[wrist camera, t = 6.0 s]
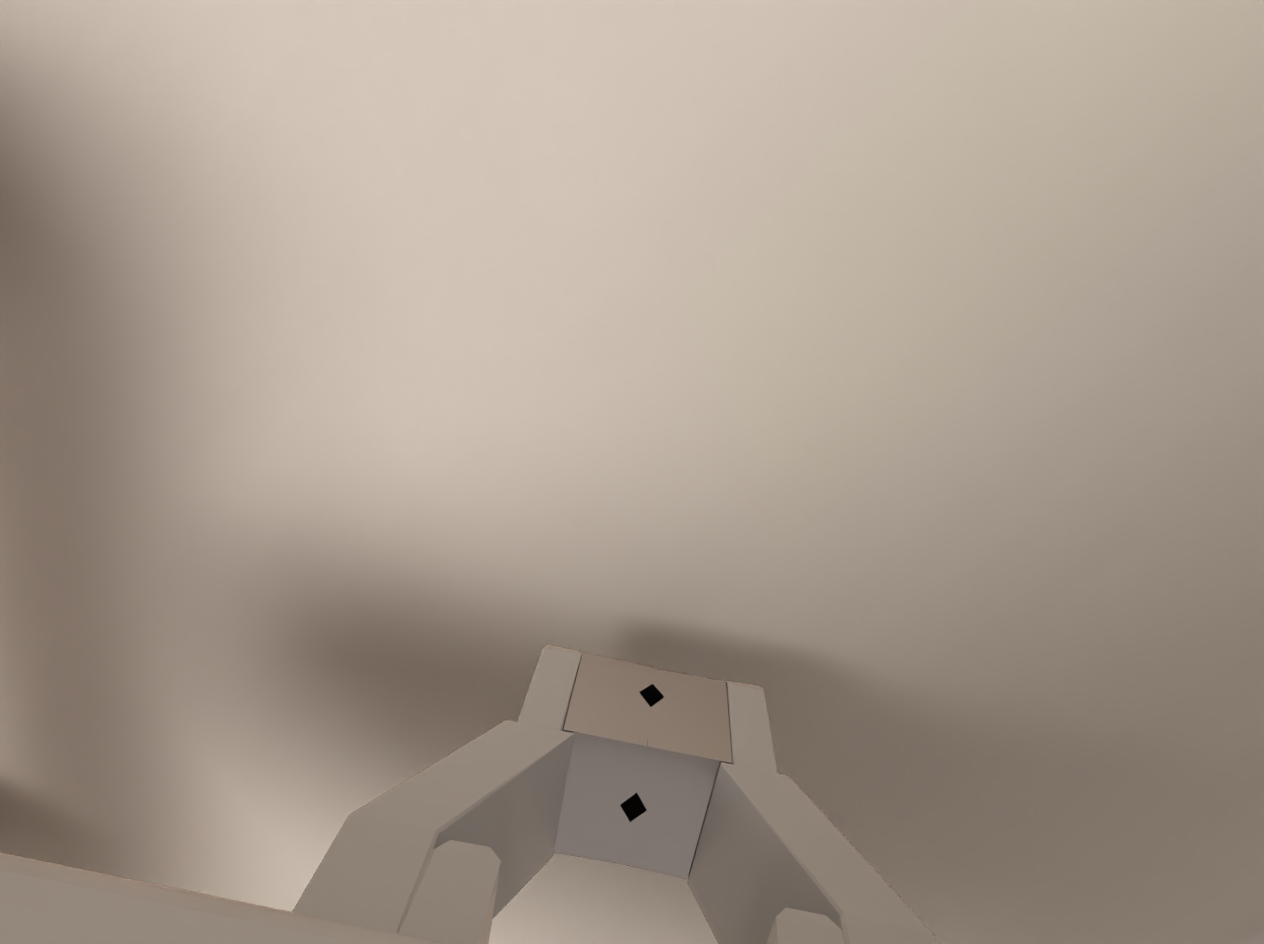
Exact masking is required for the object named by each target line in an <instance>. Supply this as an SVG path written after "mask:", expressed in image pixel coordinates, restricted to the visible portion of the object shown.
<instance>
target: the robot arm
mask: <svg viewBox="0 0 1264 944" xmlns="http://www.w3.org/2000/svg"><path fill="white" fill-rule="evenodd" d="M553 852H555V853H561V854H567V855H573V856H579V857H585V858H590V859H596V860H602V861H608V862H614V863H620V864H624V865H628V866H633V867H637V868H641V869H645V870H650V871H654V872H658V873H663V874H667V875H671V876H676V877H680V878H684V879H688V885H689V887H690V889H691V891H692V892H693V894H694V896H695V898H696V900H697V902H698V904H699V906H700V908H701V910H702V912H703V914H704V916H705V918H706V920H707V922H708V924H709V926H710V928H711V930H712V932H713V934H714V936H715V938H716V940H717V942H718V943H719V944H937V942H936V940H935V937H934V934H933V933H932V932H931V931H930V930H929V929H928V928H927V927H926V925H925V924H924V923H923V922H922V921H921V920H920V919H919V918H918V917H917V916H916V915H915V913H914V912H913V911H912V910H911V909H910V908H909V907H908V906H907V905H906V904H905V902H904V901H903V900H902V899H901V898H900V897H899V896H898V895H897V894H896V893H895V891H894V890H893V889H892V888H891V887H890V886H889V885H888V884H887V883H886V882H885V880H884V879H883V878H882V877H881V876H880V875H879V874H878V873H877V872H876V871H875V870H874V868H873V867H872V866H871V865H870V864H869V863H868V862H867V861H866V860H865V859H864V857H863V856H862V855H861V854H860V853H859V852H858V851H857V850H856V849H855V848H854V846H853V845H852V844H851V843H850V842H849V841H848V840H847V839H846V838H845V837H844V835H843V834H842V833H841V832H840V831H839V830H838V829H837V828H836V827H835V826H834V825H833V823H832V822H831V821H830V820H829V819H828V818H827V817H826V816H825V815H824V814H823V812H822V811H821V810H820V809H819V808H818V807H817V806H816V805H815V804H814V803H813V801H812V800H811V799H810V798H809V797H808V796H807V795H806V794H805V793H804V792H803V790H802V789H801V788H800V787H799V786H798V785H797V784H796V783H795V782H794V781H793V779H792V778H791V777H790V776H787V775H782V774H778V769H777V763H776V757H775V751H774V745H773V739H772V733H771V727H770V721H769V715H768V708H767V702H766V696H765V691H764V689H763V688H762V687H761V686H757V685H751V684H745V683H739V682H733V681H727V680H725V681H722V680H716V679H711V678H705V677H700V676H694V675H689V674H683V673H678V672H672V671H667V670H661V669H656V668H654V667H651V666H646V665H641V664H637V663H632V662H628V661H623V660H619V659H614V658H609V657H605V656H600V655H596V654H591V653H587V652H583V654H582V653H581V651H577V650H572V649H567V648H562V647H557V646H552V645H546V646H545V647H544V648H543V650H542V652H541V655H540V658H539V661H538V664H537V667H536V669H535V672H534V675H533V678H532V681H531V684H530V686H529V689H528V692H527V695H526V698H525V701H524V704H523V706H522V709H521V712H520V715H519V718H518V721H517V722H515V721H510V720H505V721H503V722H502V723H500V724H498V725H497V726H495V727H493V728H492V729H490V730H488V731H487V732H485V733H484V734H482V735H480V736H479V737H477V738H475V739H474V740H472V741H470V742H469V743H467V744H465V745H464V746H462V747H460V748H459V749H457V750H455V751H454V752H452V753H450V754H449V755H447V756H446V757H444V758H442V759H441V760H439V761H437V762H436V763H434V764H432V765H431V766H429V767H427V768H426V769H424V770H422V771H421V772H419V773H417V774H416V775H414V776H412V777H411V778H409V779H408V780H406V781H404V782H403V783H401V784H399V785H398V786H396V787H394V788H393V789H391V790H389V791H388V792H386V793H384V794H383V795H381V796H379V797H378V798H376V799H375V800H373V801H371V802H370V803H368V804H366V805H365V806H363V807H361V808H360V809H358V810H356V811H355V812H353V813H351V814H350V815H349V816H348V817H347V819H346V821H345V822H344V824H343V826H342V827H341V829H340V831H339V833H338V834H337V836H336V838H335V839H334V841H333V843H332V845H331V846H330V848H329V850H328V851H327V853H326V855H325V856H324V858H323V860H322V862H321V863H320V865H319V867H318V868H317V870H316V872H315V874H314V875H313V877H312V879H311V880H310V882H309V884H308V885H307V887H306V889H305V891H304V892H303V894H302V896H301V897H300V899H299V901H298V903H297V904H296V906H295V908H294V909H293V911H292V912H290V911H285V910H280V909H275V908H270V907H265V906H260V905H255V904H251V903H246V902H241V901H236V900H231V899H226V898H221V897H216V896H211V895H207V894H202V893H197V892H192V891H187V890H182V889H177V888H172V887H167V886H163V885H158V884H153V883H148V882H143V881H138V880H133V879H128V878H123V877H119V876H114V875H109V874H104V873H99V872H94V871H89V870H84V869H79V868H74V867H70V866H65V865H60V864H55V863H50V862H45V861H40V860H35V859H30V858H26V857H21V856H16V855H11V854H6V853H1V852H0V944H489V937H490V931H491V924H492V919H493V918H494V917H495V916H496V915H497V914H498V913H499V912H500V911H501V910H502V909H503V908H504V907H505V906H506V904H507V903H508V902H509V901H510V900H511V899H512V898H513V897H514V896H515V895H516V894H517V893H518V892H519V891H520V890H521V889H522V888H523V887H524V886H525V885H526V884H527V882H528V881H529V880H530V879H531V878H532V877H533V876H534V875H535V874H536V873H537V872H538V871H539V870H540V869H541V868H542V867H543V866H544V865H545V864H546V863H547V862H548V860H549V859H550V858H551V857H552V856H553Z"/></svg>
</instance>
